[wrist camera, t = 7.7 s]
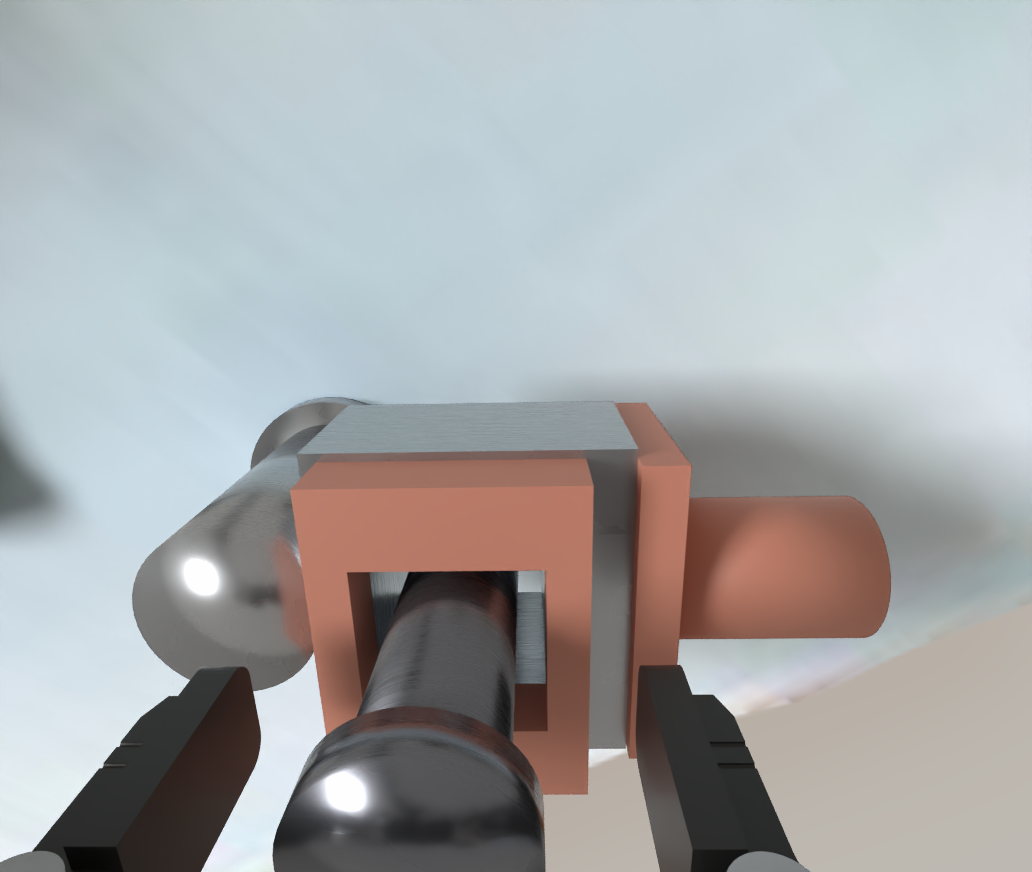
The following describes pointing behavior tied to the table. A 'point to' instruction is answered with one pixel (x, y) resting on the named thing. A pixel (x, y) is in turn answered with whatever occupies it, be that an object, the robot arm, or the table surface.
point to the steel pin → (426, 748)
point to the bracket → (580, 570)
